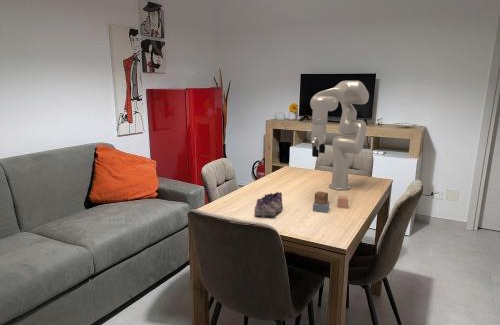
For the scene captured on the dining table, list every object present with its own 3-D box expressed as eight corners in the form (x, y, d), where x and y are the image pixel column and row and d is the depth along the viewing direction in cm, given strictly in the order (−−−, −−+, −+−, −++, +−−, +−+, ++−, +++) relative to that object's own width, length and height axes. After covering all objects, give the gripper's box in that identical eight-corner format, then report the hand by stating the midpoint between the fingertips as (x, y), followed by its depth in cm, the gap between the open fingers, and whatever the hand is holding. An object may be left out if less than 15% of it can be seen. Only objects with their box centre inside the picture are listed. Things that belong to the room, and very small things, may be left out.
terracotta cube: (337, 204, 187) (338, 195, 186) (347, 205, 186) (348, 196, 185) (337, 207, 183) (337, 198, 181) (347, 208, 181) (347, 199, 180)
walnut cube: (318, 200, 182) (318, 191, 181) (327, 202, 179) (328, 192, 178) (314, 203, 178) (314, 193, 177) (323, 205, 175) (324, 195, 174)
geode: (265, 204, 187) (268, 186, 185) (286, 210, 183) (289, 192, 180) (249, 215, 169) (252, 195, 167) (271, 222, 165) (275, 202, 162)
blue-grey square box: (315, 207, 183) (315, 199, 183) (328, 209, 181) (329, 201, 180) (312, 211, 177) (313, 204, 176) (326, 213, 175) (327, 205, 174)
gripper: (318, 119, 190) (317, 150, 195) (306, 124, 176) (305, 157, 180) (332, 120, 187) (330, 152, 191) (320, 124, 172) (319, 159, 177)
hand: (318, 154), depth 186 cm, fingers open, 9 cm apart
